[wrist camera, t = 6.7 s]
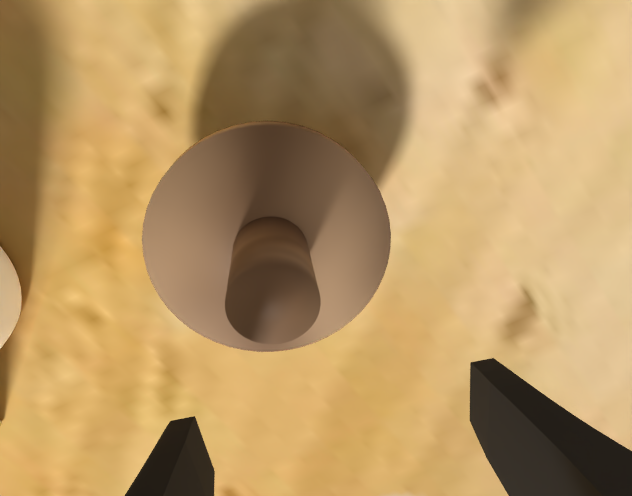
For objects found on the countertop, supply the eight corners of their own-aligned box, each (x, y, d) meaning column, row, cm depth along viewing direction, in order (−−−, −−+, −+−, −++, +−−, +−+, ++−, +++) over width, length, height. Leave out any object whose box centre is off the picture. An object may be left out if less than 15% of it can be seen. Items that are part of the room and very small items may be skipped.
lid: (378, 106, 14) (425, 126, 10) (387, 318, 18) (424, 397, 14) (118, 138, 14) (57, 174, 10) (181, 351, 17) (156, 442, 13)
